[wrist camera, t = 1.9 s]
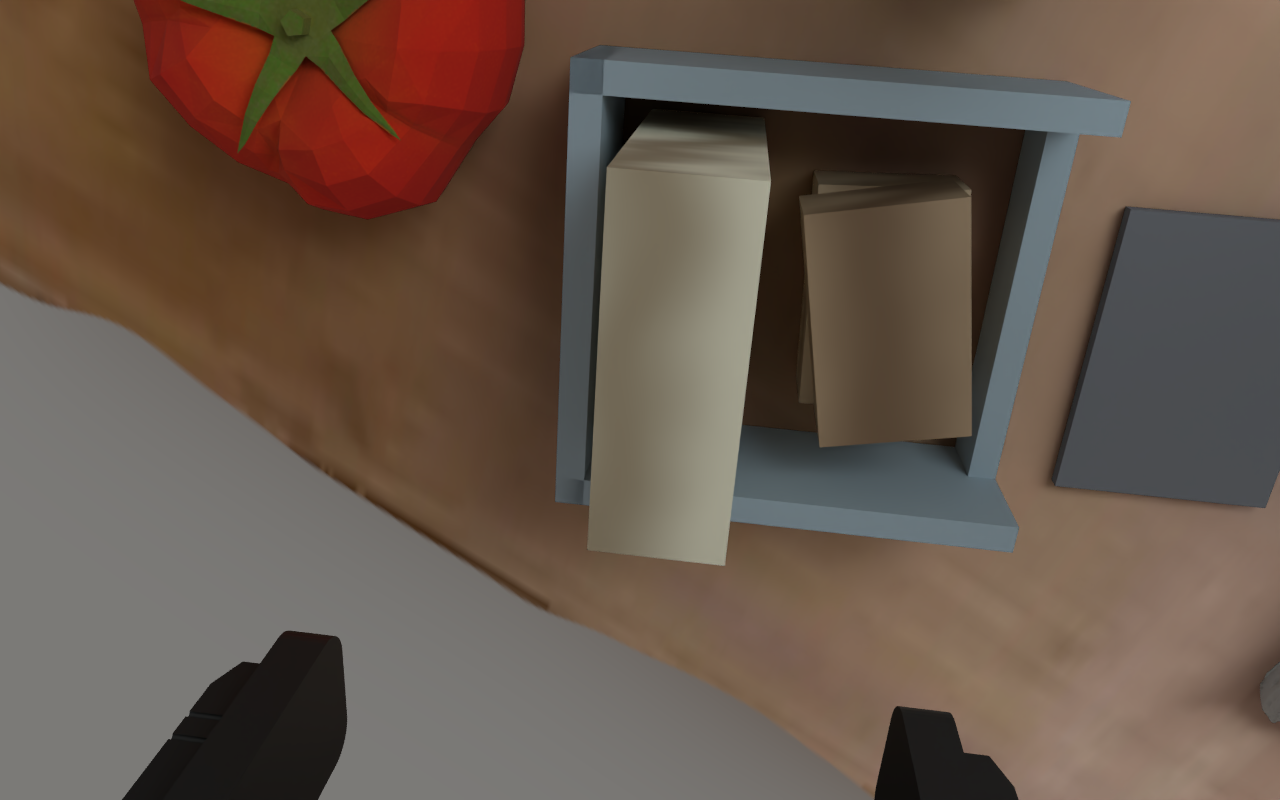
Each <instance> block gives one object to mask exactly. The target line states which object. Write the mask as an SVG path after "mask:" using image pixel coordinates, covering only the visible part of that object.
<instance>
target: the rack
mask: <svg viewBox="0 0 1280 800" xmlns="http://www.w3.org/2000/svg"><path fill="white" fill-rule="evenodd" d="M625 97H628V98H641V99H653V100H665V101H678V102H690V103H702V104H715V105H727V106H739V107H752V108H764V109H776V110H789V111H801V112H813V113H826V114H838V115H850V116H863V117H875V118H887V119H900V120H912V121H924V122H937V123H949V124H961V125H974V126H986V127H998V128H1011V129H1023V130H1025V134H1024V138H1023V143H1022V147H1021V152H1020V156H1019V161H1018V165H1017V170H1016V174H1015V179H1014V183H1013V188H1012V192H1011V197H1010V201H1009V206H1008V210H1007V215H1006V219H1005V224H1004V228H1003V233H1002V237H1001V242H1000V246H999V251H998V255H997V260H996V264H995V269H994V273H993V278H992V282H991V287H990V292H989V296H988V301H987V305H986V310H985V314H984V319H983V323H982V328H981V332H980V337H979V341H978V346H977V350H976V355H975V359H974V364H973V368H972V436H968V437H957V440H956V445H955V447H950V446H940V445H931V444H921V443H912V442H902V441H901V442H887V443H873V444H860V445H846V446H833V447H819V440H818V433H815V432H806V431H796V430H786V429H777V428H767V427H758V426H748V425H742V427H741V435H740V443H739V452H738V460H737V468H736V477H735V485H734V493H733V501H732V510H731V518H730V521H732V522H741V523H750V524H759V525H768V526H777V527H787V528H796V529H805V530H814V531H823V532H832V533H841V534H850V535H859V536H868V537H877V538H886V539H895V540H904V541H913V542H922V543H931V544H940V545H949V546H958V547H967V548H976V549H985V550H994V551H1003V552H1012V553H1013V549H1014V545H1015V541H1016V538H1017V534H1018V530H1019V526H1018V524H1017V522H1016V520H1015V518H1014V516H1013V514H1012V512H1011V510H1010V508H1009V506H1008V504H1007V502H1006V500H1005V498H1004V496H1003V494H1002V492H1001V490H1000V488H999V486H998V484H997V482H996V480H995V478H996V474H997V470H998V466H999V462H1000V457H1001V453H1002V449H1003V445H1004V441H1005V437H1006V433H1007V429H1008V425H1009V421H1010V417H1011V412H1012V408H1013V404H1014V400H1015V396H1016V392H1017V388H1018V384H1019V380H1020V376H1021V372H1022V367H1023V363H1024V359H1025V355H1026V351H1027V347H1028V343H1029V339H1030V335H1031V331H1032V327H1033V323H1034V318H1035V314H1036V310H1037V306H1038V302H1039V298H1040V294H1041V290H1042V286H1043V282H1044V278H1045V273H1046V269H1047V265H1048V261H1049V257H1050V253H1051V249H1052V245H1053V241H1054V237H1055V233H1056V228H1057V224H1058V220H1059V216H1060V212H1061V208H1062V204H1063V200H1064V196H1065V192H1066V188H1067V183H1068V179H1069V175H1070V171H1071V167H1072V163H1073V159H1074V155H1075V151H1076V147H1077V143H1078V139H1079V134H1085V135H1097V136H1109V137H1122V133H1123V129H1124V126H1125V122H1126V118H1127V114H1128V110H1129V106H1130V103H1131V101H1129V100H1125V99H1122V98H1119V97H1116V96H1112V95H1109V94H1106V93H1103V92H1100V91H1096V90H1093V89H1090V88H1087V87H1083V86H1080V85H1077V84H1074V83H1071V82H1067V81H1056V80H1043V79H1030V78H1017V77H1004V76H991V75H978V74H965V73H953V72H940V71H927V70H914V69H901V68H888V67H875V66H862V65H849V64H836V63H823V62H810V61H798V60H785V59H772V58H759V57H746V56H733V55H720V54H707V53H694V52H681V51H668V50H656V49H643V48H630V47H617V46H604V45H599V46H596V47H594V48H592V49H589V50H587V51H584V52H582V53H580V54H577V55H575V56H572V57H571V59H570V88H569V117H568V146H567V175H566V203H565V232H564V261H563V290H562V319H561V347H560V376H559V405H558V434H557V463H556V491H555V502H561V503H570V504H579V505H588V506H589V505H590V485H591V466H592V447H593V427H594V408H595V388H596V369H597V349H598V330H599V310H600V291H601V271H602V252H603V232H604V213H605V193H606V174H607V166H608V165H609V164H610V163H611V161H612V160H613V159H614V157H615V156H616V155H617V154H618V152H619V151H620V150H621V148H622V143H623V126H624V108H625Z"/></svg>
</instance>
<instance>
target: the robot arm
mask: <svg viewBox="0 0 1280 800" xmlns="http://www.w3.org/2000/svg"><path fill="white" fill-rule="evenodd" d="M346 727H347V710H346V696H345V682H344V668H343V655H342V645H341V642H340V639H339V638H338V637H336V636H329V635H321V634H313V633H305V632H296V631H285V632H284V633H283V634H281V635H280V637H279V638H278V639H277V641H276V642H275V643H274V645H273V646H272V648H271V649H270V650H269V652H268V653H267V655H266V656H265V658H264V659H263V660H262V662H261V663H260V664H258V663H250V662H242V663H240V664H239V665H237V666H236V667H234V668H233V669H232V670H230V671H229V672H227V673H226V674H224V675H223V676H221V677H220V678H218V679H217V680H215V681H214V682H213V683H211V684H210V685H209V687H208V688H207V689H206V691H205V692H204V693H203V695H202V696H201V697H200V698H199V700H198V701H197V702H196V704H195V705H194V706H193V708H192V709H191V710H190V714H189V716H188V717H185V718H184V719H183V721H182V722H181V723H180V725H179V726H178V727H177V729H176V730H175V731H174V733H173V736H172V739H171V740H170V739H168V740H167V742H166V743H165V744H164V746H163V747H162V748H161V750H160V751H159V752H158V753H157V755H156V756H155V757H154V759H153V760H152V761H151V763H150V764H149V765H148V766H147V768H146V769H145V771H144V772H143V773H142V774H141V776H140V777H139V778H138V780H137V781H136V782H135V783H134V785H133V786H132V788H131V789H130V790H129V792H128V793H127V794H126V795H125V797H124V798H123V799H122V800H318V798H319V796H320V795H321V792H322V790H323V789H324V787H325V785H326V783H327V781H328V779H329V777H330V775H331V774H332V772H333V770H334V768H335V766H336V764H337V762H338V760H339V757H340V754H341V751H342V748H343V744H344V740H345V734H346ZM874 800H1018V797H1017V794H1016V791H1015V788H1014V786H1013V785H1012V784H1011V782H1010V781H1009V780H1008V779H1007V778H1006V776H1005V775H1004V774H1003V773H1002V771H1001V770H1000V769H999V768H998V766H997V765H996V764H995V763H994V761H993V760H992V759H991V758H990V757H989V756H985V755H977V754H969V753H964V752H963V749H962V745H961V742H960V738H959V735H958V731H957V727H956V724H955V721H954V718H953V716H952V714H951V713H949V712H941V711H933V710H925V709H917V708H909V707H900V706H897V707H896V708H895V709H894V711H893V714H892V717H891V722H890V726H889V731H888V735H887V740H886V744H885V749H884V753H883V758H882V762H881V767H880V771H879V776H878V780H877V785H876V791H875V799H874Z"/></svg>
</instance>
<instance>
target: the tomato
mask: <svg viewBox="0 0 1280 800" xmlns="http://www.w3.org/2000/svg"><path fill="white" fill-rule="evenodd" d="M134 2H135V5H136V8H137V10H138V13H139V16H140V18H141V21H142V24H143V31H144V39H145V46H146V54H147V61H148V69H149V76H150V80H151V82H152V83H153V84H154V85H155V86H156V87H157V88H158V90H159V91H160V92H161V93H162V94H163V95H164V96H165V98H166V99H167V100H168V101H169V102H170V103H171V104H172V106H173V107H174V108H175V109H176V110H177V111H178V113H179V114H180V115H181V116H182V117H183V118H184V119H185V121H186V122H187V123H188V124H189V125H190V126H191V127H192V128H193V129H195V130H196V131H197V132H199V133H200V134H201V135H203V136H204V137H205V138H207V139H208V140H209V141H211V142H212V143H213V144H215V145H216V146H217V147H219V148H220V149H221V150H223V151H224V152H225V153H227V154H228V155H229V156H231V157H232V158H233V159H235V160H236V161H237V162H239V163H241V164H244V165H246V166H248V167H251V168H253V169H256V170H258V171H260V172H263V173H265V174H268V175H270V176H273V177H275V178H277V179H280V180H282V181H284V182H286V183H289V184H290V185H291V186H292V188H293V189H294V190H295V191H296V192H297V193H298V194H299V195H300V196H301V197H302V198H303V199H304V200H305V202H306V203H307V204H309V205H312V206H315V207H318V208H321V209H324V210H329V211H333V212H337V213H342V214H346V215H351V216H355V217H359V218H364V219H371V218H375V217H379V216H383V215H387V214H391V213H395V212H398V211H402V210H406V209H410V208H414V207H417V206H421V205H425V204H429V203H433V202H436V201H437V200H438V198H439V197H440V195H441V194H442V192H443V191H444V190H445V188H446V187H447V185H448V183H449V182H450V180H451V179H452V177H453V176H454V174H455V172H456V171H457V169H458V168H459V166H460V164H461V163H462V161H463V160H464V158H465V157H466V155H467V153H468V152H469V150H470V149H471V147H472V146H473V144H474V142H475V141H476V140H477V138H478V137H479V136H480V135H481V134H482V133H483V131H484V130H485V129H486V128H487V127H488V126H489V124H490V123H491V122H492V121H493V120H494V119H495V117H496V116H497V115H498V114H499V113H500V112H501V111H502V110H503V109H504V107H505V106H506V105H507V103H508V102H509V99H510V96H511V92H512V88H513V84H514V81H515V77H516V73H517V70H518V66H519V62H520V59H521V55H522V51H523V48H524V32H525V0H134Z"/></svg>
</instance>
